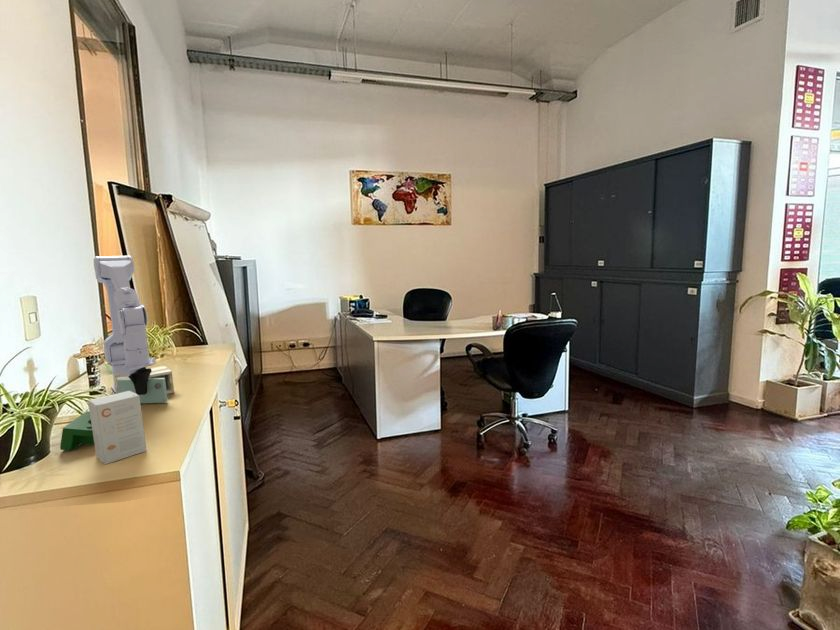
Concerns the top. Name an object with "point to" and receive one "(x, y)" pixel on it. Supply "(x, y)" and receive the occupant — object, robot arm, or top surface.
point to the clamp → (77, 433)
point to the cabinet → (156, 373)
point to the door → (154, 390)
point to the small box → (117, 426)
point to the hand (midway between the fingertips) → (142, 394)
